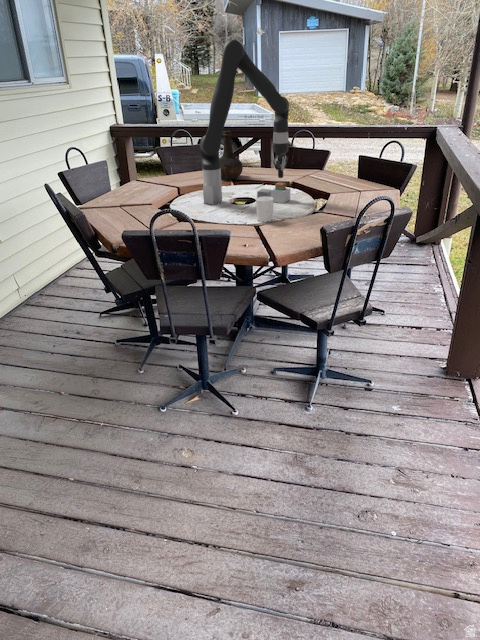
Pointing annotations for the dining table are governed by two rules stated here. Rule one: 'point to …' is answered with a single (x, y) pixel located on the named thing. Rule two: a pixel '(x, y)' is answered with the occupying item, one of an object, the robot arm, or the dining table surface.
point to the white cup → (264, 208)
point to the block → (280, 186)
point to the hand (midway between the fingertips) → (280, 177)
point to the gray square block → (264, 193)
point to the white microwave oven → (280, 195)
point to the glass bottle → (229, 160)
